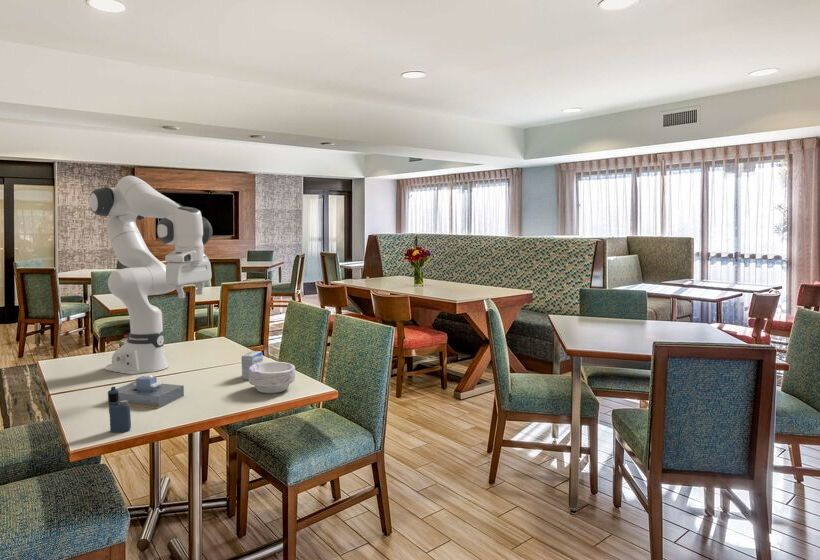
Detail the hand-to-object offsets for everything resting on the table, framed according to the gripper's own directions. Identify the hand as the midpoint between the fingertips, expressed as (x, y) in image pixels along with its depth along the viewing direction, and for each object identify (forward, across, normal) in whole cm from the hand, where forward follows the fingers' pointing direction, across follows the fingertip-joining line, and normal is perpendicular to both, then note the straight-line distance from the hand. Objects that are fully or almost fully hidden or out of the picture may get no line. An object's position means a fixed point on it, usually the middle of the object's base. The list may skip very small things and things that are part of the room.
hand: (190, 296), depth 183 cm
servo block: (+31, +17, -5) cm, 36 cm away
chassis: (+31, +17, -5) cm, 36 cm away
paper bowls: (+31, -3, +28) cm, 42 cm away
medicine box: (+31, -15, +14) cm, 37 cm away
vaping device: (+31, +41, +6) cm, 52 cm away
